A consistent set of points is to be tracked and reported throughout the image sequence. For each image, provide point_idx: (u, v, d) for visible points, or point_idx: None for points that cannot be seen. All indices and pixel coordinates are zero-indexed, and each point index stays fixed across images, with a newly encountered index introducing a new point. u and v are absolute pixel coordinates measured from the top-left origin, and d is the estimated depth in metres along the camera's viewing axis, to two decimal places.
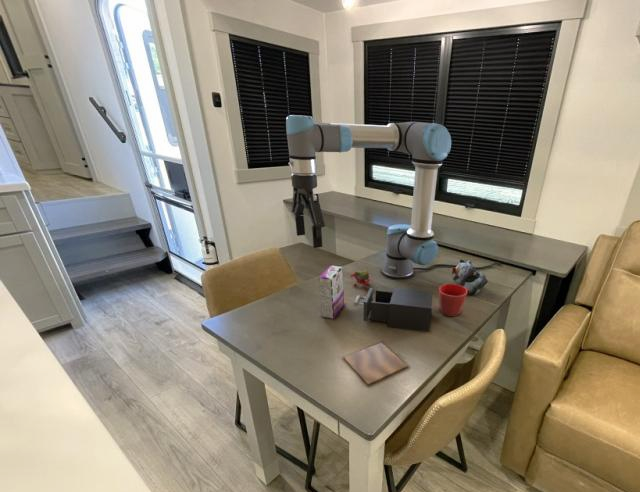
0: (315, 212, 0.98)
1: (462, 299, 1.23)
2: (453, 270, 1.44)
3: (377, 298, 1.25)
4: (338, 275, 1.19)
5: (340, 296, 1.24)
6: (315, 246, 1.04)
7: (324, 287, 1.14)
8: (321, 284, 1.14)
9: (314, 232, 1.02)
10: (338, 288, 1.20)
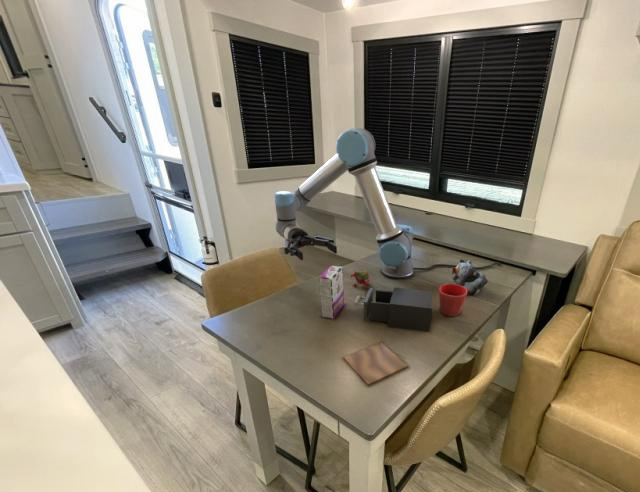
0: None
1: (462, 299, 1.23)
2: (453, 270, 1.44)
3: (377, 298, 1.25)
4: (338, 275, 1.19)
5: (340, 296, 1.24)
6: (300, 258, 1.19)
7: (324, 287, 1.14)
8: (321, 283, 1.14)
9: None
10: (338, 288, 1.20)
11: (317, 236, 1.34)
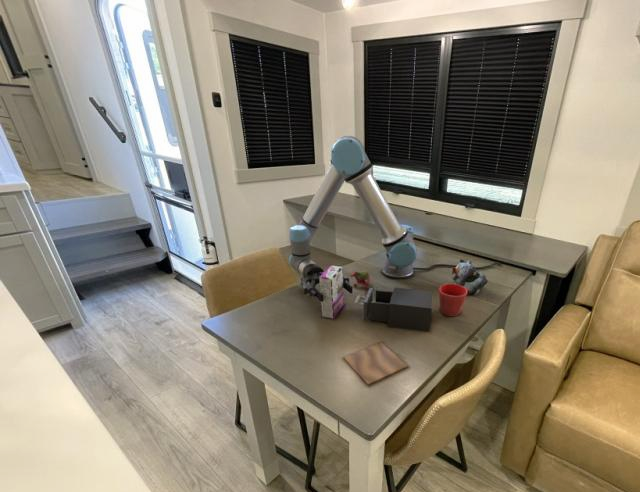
0: (303, 288, 1.22)
1: (462, 299, 1.23)
2: (453, 270, 1.44)
3: (377, 298, 1.25)
4: (338, 275, 1.19)
5: (340, 296, 1.24)
6: (320, 300, 1.16)
7: (324, 287, 1.14)
8: (321, 283, 1.14)
9: None
10: (338, 288, 1.20)
11: None
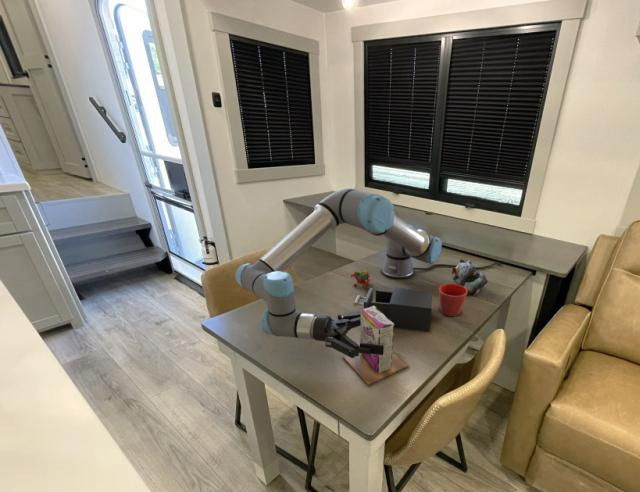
0: (340, 350, 0.89)
1: (462, 299, 1.23)
2: (453, 270, 1.44)
3: (377, 298, 1.25)
4: None
5: None
6: (381, 353, 0.90)
7: (385, 337, 0.90)
8: (381, 335, 0.89)
9: None
10: None
11: (344, 316, 1.01)
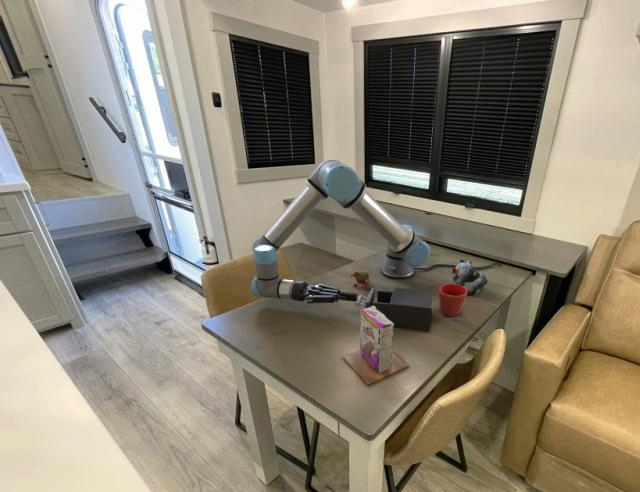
0: (322, 301, 1.18)
1: (462, 299, 1.23)
2: (453, 270, 1.44)
3: (379, 298, 1.25)
4: None
5: None
6: (354, 300, 1.21)
7: (385, 337, 0.90)
8: (381, 335, 0.89)
9: None
10: None
11: (320, 284, 1.26)
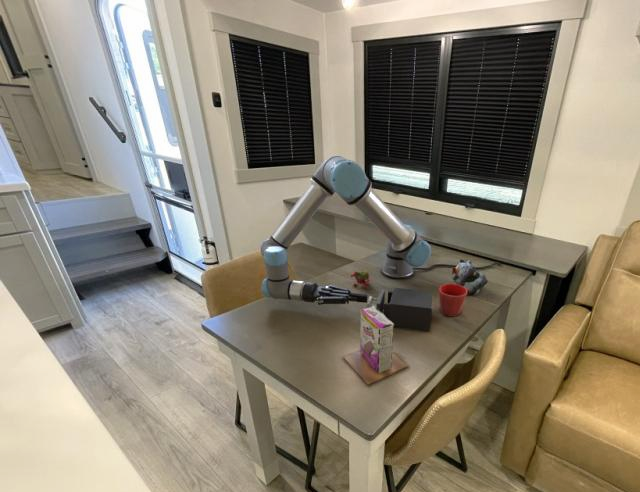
0: (333, 303, 1.18)
1: (462, 299, 1.23)
2: (453, 270, 1.44)
3: (389, 299, 1.25)
4: None
5: None
6: (365, 302, 1.21)
7: (385, 337, 0.90)
8: (381, 335, 0.89)
9: (353, 300, 1.21)
10: None
11: (331, 286, 1.25)
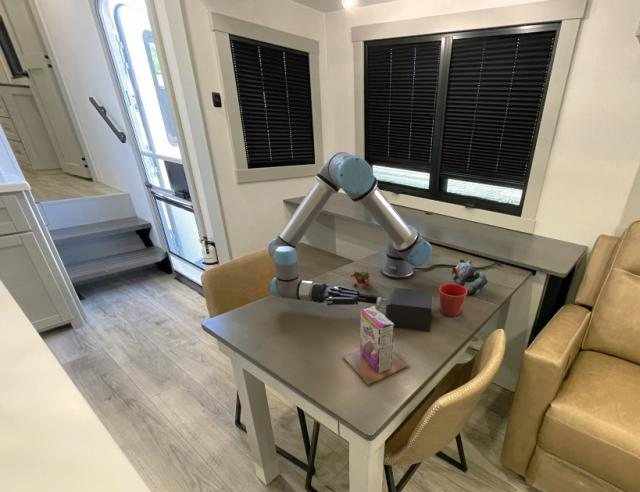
0: (342, 303, 1.18)
1: (462, 299, 1.23)
2: (453, 270, 1.44)
3: None
4: None
5: None
6: (374, 303, 1.21)
7: (385, 337, 0.90)
8: (381, 335, 0.89)
9: None
10: None
11: (340, 286, 1.25)
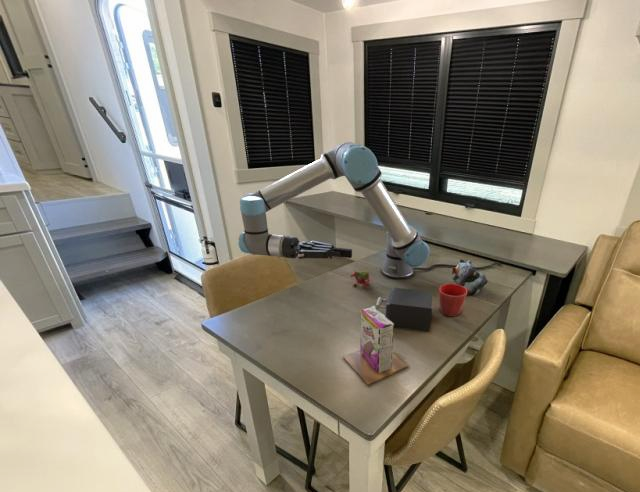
0: (314, 257, 1.10)
1: (462, 299, 1.23)
2: (453, 270, 1.44)
3: None
4: None
5: None
6: (349, 257, 1.13)
7: (385, 337, 0.90)
8: (381, 335, 0.89)
9: None
10: None
11: (313, 241, 1.17)
